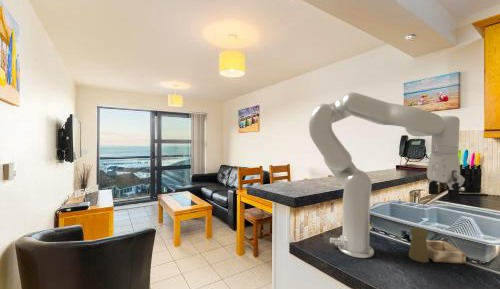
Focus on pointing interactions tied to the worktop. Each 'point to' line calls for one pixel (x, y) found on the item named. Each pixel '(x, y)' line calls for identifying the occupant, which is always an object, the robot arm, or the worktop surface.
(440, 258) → the socket block
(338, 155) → the robot arm
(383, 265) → the worktop surface
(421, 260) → the cork
